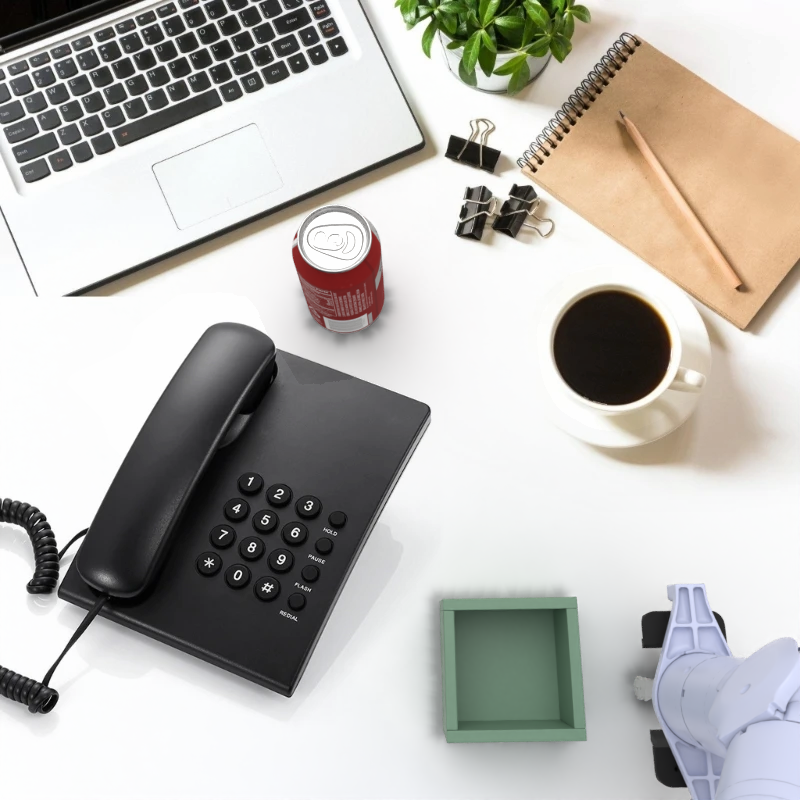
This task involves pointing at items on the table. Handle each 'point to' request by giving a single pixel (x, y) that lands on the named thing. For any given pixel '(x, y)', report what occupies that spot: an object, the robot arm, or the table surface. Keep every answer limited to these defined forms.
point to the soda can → (340, 268)
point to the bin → (511, 670)
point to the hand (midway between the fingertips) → (659, 687)
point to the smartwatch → (643, 688)
